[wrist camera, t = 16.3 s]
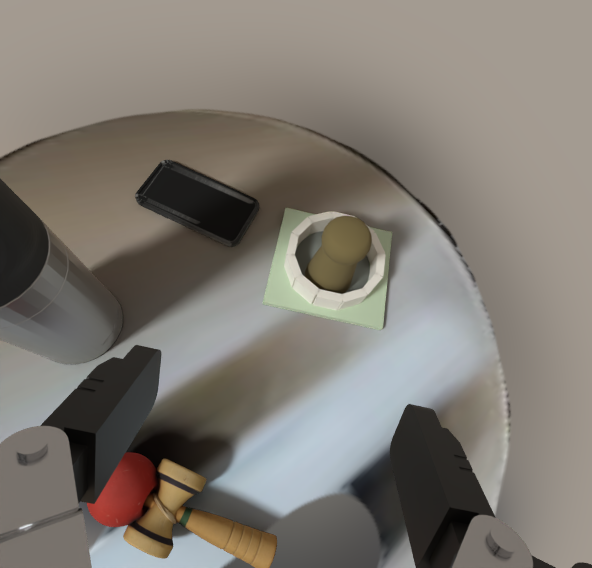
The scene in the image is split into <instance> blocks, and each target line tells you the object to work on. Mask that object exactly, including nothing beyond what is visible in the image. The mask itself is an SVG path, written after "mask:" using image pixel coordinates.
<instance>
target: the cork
mask: <svg viewBox="0 0 592 568" xmlns="http://www.w3.org/2000/svg"><path fill="white" fill-rule="evenodd" d="M321 238H322V245H321V247H320V248H319V249H318V251H317V252H316V254H315V255H314V256H313V258H312V259H311V260H310V262H309V263H308V265H307V267H306V270H305V277H306V278H307V279H308V280H309V281H310V282H312V283H313V284H314V285H315V286H316V287H318V288H319V289H321V290H326V291H330V292H335V293H339V294H344V293H345V292H346V291H347V290H348V289H349V287H350V284H351V281H352V278H353V275H354V272H355V269H356V266H357V263H358V262H359V261H361V260H362V259H364V258H365V256H366V255H367V254H368V252H369V251H370V248H371V244H372V236H371V233H370V230H369V228H368V227H367V225H366V224H365V223H364V222H363V221H361V220H360V219H359V218H356V217H353V216H340V217H336V218H334V219H333V220H331V221H330V222H329V223H328V224H327V225H326V227H325V228H324V231H323V234H322V237H321Z"/></svg>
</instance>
